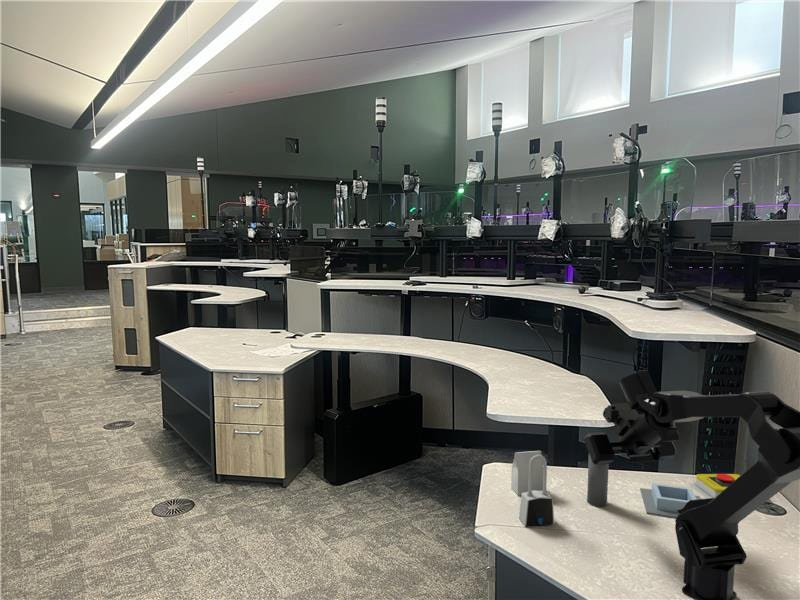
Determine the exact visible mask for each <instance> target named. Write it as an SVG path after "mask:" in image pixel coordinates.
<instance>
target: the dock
mask: <svg viewBox="0 0 800 600" xmlns="http://www.w3.org/2000/svg"><path fill="white" fill-rule="evenodd" d="M639 490H640V494H641V498H642V502H643V506H644V509H645V513H646V514H647V515H652V516H653V515H654V516H659V517H666V518H673V519H676V517H677V516H678V515H679V514H680V513H679V512H678V511H677V510H681V509H683V508H684V506H685V505H686V503H687V502H689V501H690V500H697V499H702V498H701V497H700V495H696V494H695V493H694V491H693V488H692V487H685V486H677V485H669V484H662V483H654V482H652V483H651V489H649V488H643V487H641V488H639Z"/></svg>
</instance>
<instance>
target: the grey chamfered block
mask: <svg viewBox="0 0 800 600" xmlns="http://www.w3.org/2000/svg"><path fill="white" fill-rule="evenodd" d="M535 455H542V451H541V450H533V451H532V450H530V451H521V452H520V451H519V452H518V451H517V452H516V451H515V452H514V456H513V460H512V465H511V490H512V491H513V493H514V492H515V493H516V494H517V495H518V496H519V495H521V494H522V493H524V492H528V481H529V464H530V460H531V458H532V457H533V456H535ZM543 470H544V466H543V460H542V459H541V458H537V459H535V460H534V461H533V466H532V490H531V491H533V490H537V491H542V490H543ZM515 493H514V494H515ZM516 494H515V495H516ZM517 495H516V496H517Z"/></svg>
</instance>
